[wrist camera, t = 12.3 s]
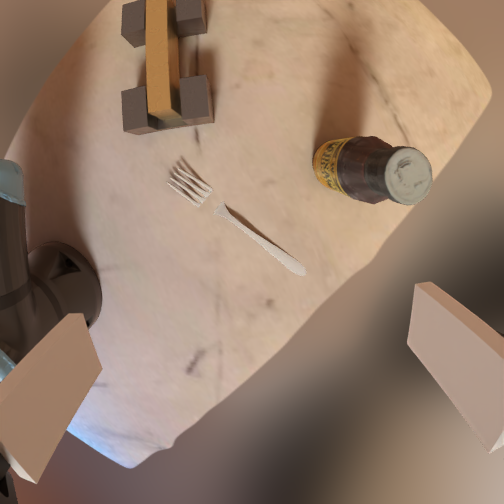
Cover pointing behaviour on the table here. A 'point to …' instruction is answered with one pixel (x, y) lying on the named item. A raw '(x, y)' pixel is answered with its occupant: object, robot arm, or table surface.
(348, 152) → the sauce bottle
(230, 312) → the table surface
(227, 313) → the table surface
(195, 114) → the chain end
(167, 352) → the table surface
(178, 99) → the link bar
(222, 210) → the fork
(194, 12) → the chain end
